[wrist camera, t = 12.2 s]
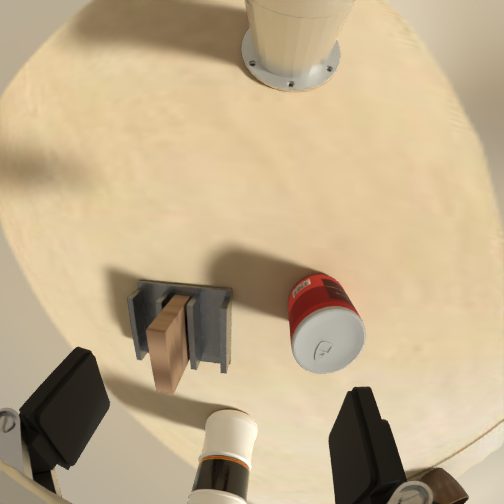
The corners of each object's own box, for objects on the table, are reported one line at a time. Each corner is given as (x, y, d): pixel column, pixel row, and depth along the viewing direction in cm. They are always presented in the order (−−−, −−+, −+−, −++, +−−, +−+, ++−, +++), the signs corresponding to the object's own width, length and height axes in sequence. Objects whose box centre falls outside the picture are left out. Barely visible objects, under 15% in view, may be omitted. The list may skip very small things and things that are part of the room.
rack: (140, 280, 38) (126, 290, 34) (231, 288, 37) (226, 301, 33) (148, 349, 41) (138, 364, 37) (230, 361, 40) (226, 378, 36)
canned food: (283, 323, 38) (285, 372, 27) (292, 268, 36) (299, 305, 25) (336, 328, 38) (354, 375, 27) (348, 275, 36) (375, 311, 25)
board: (174, 294, 37) (145, 330, 28) (190, 296, 37) (164, 332, 28) (179, 349, 40) (156, 391, 30) (193, 351, 39) (173, 394, 30)
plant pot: (412, 474, 48) (426, 515, 33) (457, 453, 46) (475, 490, 31) (407, 492, 51) (417, 527, 36) (448, 474, 49) (461, 507, 34)
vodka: (239, 401, 42) (210, 566, 13) (267, 430, 44) (256, 576, 15) (197, 414, 44) (151, 556, 15) (225, 441, 46) (199, 572, 17)
